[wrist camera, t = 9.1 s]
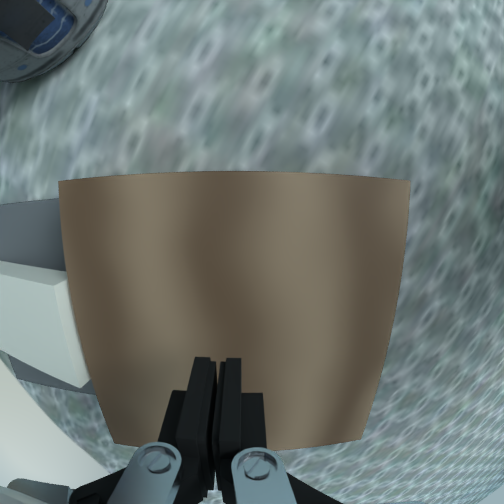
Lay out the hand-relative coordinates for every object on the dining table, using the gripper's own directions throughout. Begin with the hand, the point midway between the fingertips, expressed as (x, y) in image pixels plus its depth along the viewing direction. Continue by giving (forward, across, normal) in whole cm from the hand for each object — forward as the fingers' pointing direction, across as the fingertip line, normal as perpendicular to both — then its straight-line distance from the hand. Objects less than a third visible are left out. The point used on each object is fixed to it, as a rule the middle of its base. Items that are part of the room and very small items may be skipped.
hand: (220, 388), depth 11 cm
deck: (+8, 0, 0) cm, 8 cm away
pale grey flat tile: (+6, +12, 0) cm, 13 cm away
